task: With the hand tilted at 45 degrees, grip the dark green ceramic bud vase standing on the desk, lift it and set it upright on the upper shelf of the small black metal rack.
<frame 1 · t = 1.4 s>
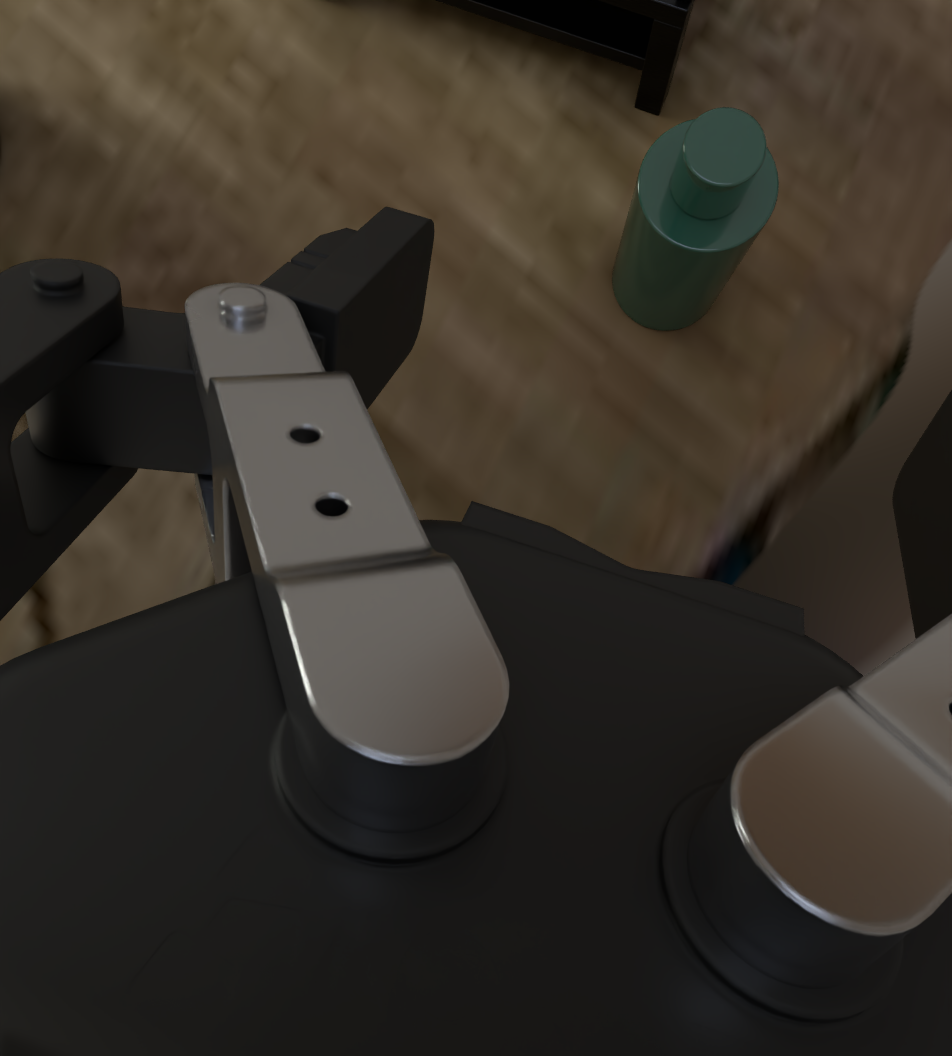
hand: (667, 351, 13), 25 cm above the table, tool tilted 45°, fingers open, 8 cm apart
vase: (665, 279, 38), on the table
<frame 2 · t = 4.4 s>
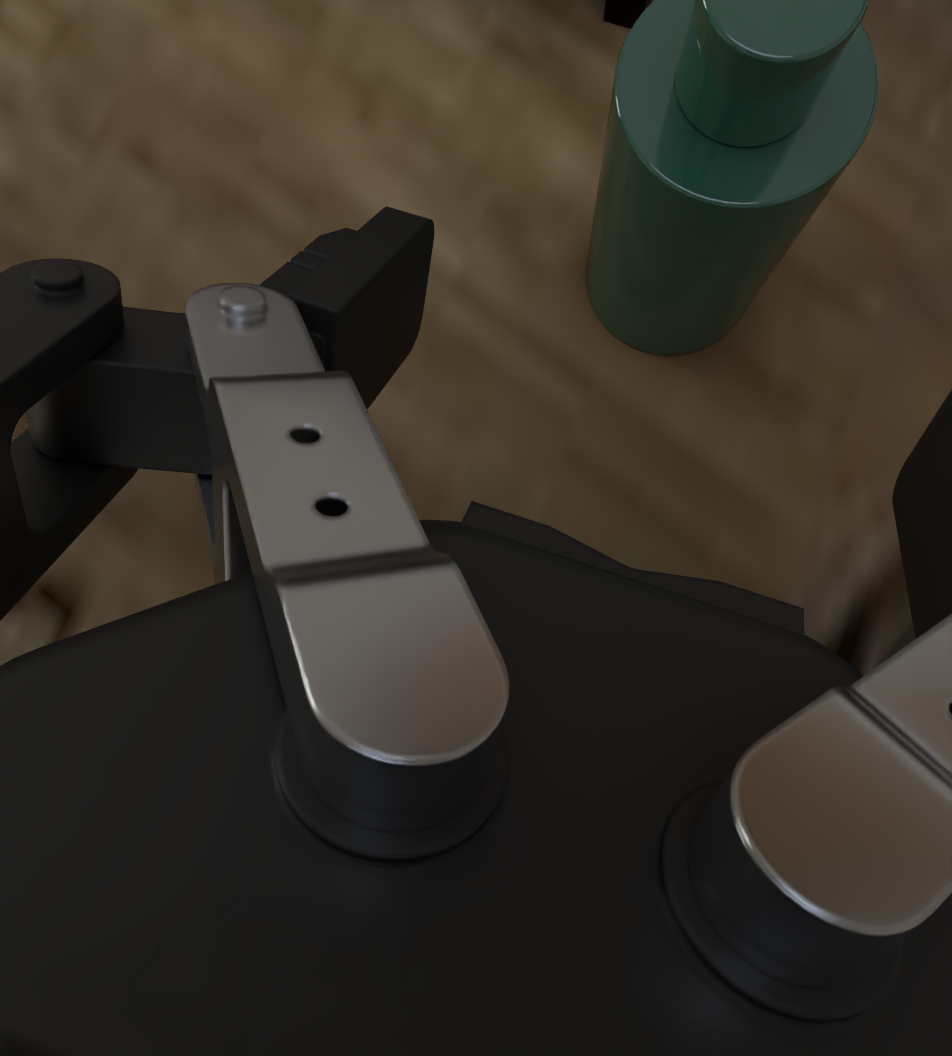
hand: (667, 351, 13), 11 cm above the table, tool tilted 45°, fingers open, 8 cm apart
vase: (668, 275, 24), on the table
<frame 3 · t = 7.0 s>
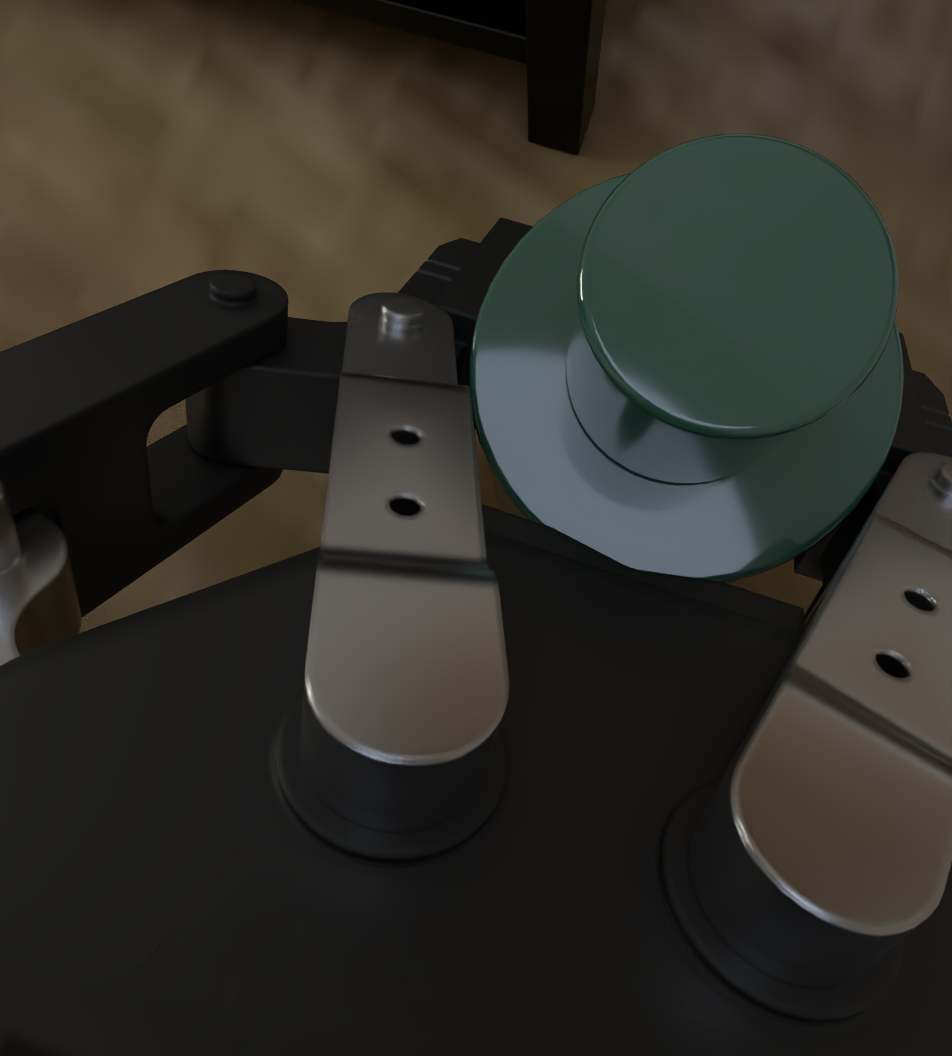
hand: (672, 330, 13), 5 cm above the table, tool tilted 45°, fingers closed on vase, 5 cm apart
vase: (610, 487, 18), on the table, touching gripper
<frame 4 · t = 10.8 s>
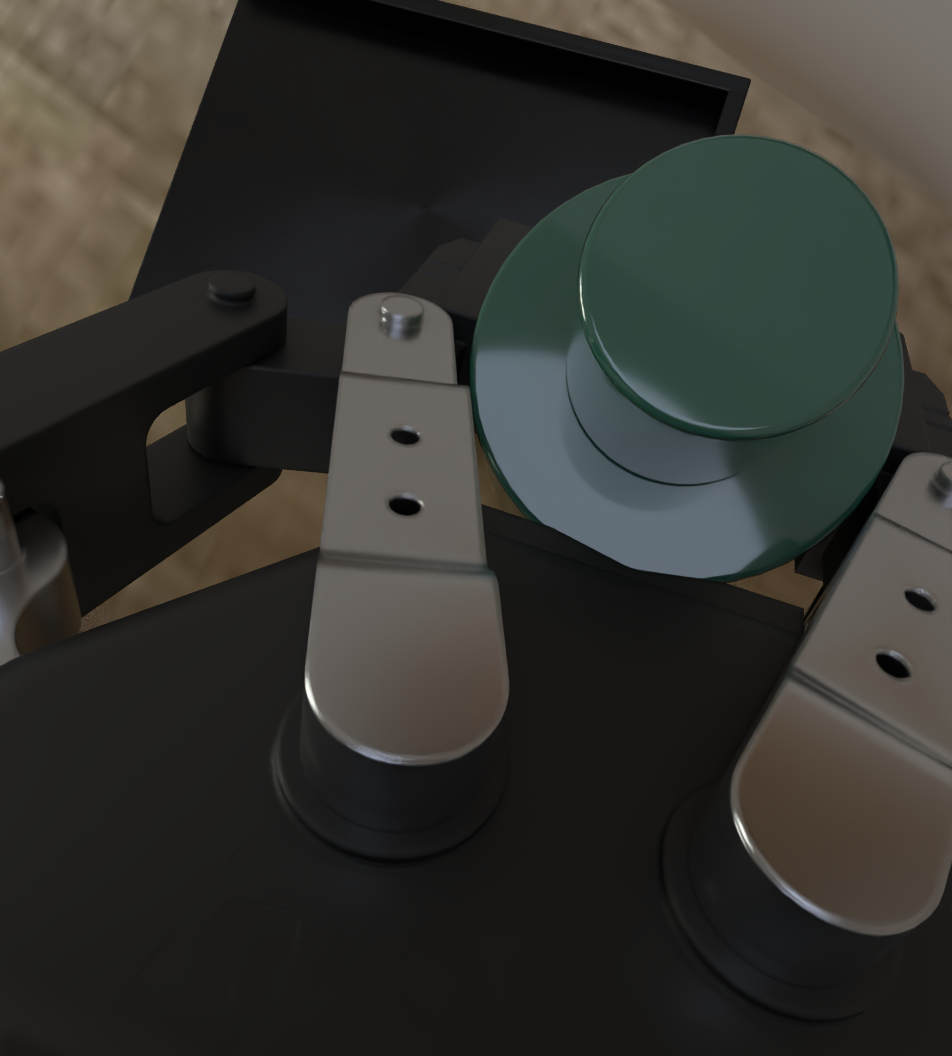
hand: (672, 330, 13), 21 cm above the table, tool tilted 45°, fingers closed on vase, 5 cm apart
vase: (610, 487, 18), point 16 cm above the table, touching gripper
rack: (449, 288, 35), on the table
when the fingers open (12 cm above the table, at t = 14.7 s): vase stays where it is, resting on rack.
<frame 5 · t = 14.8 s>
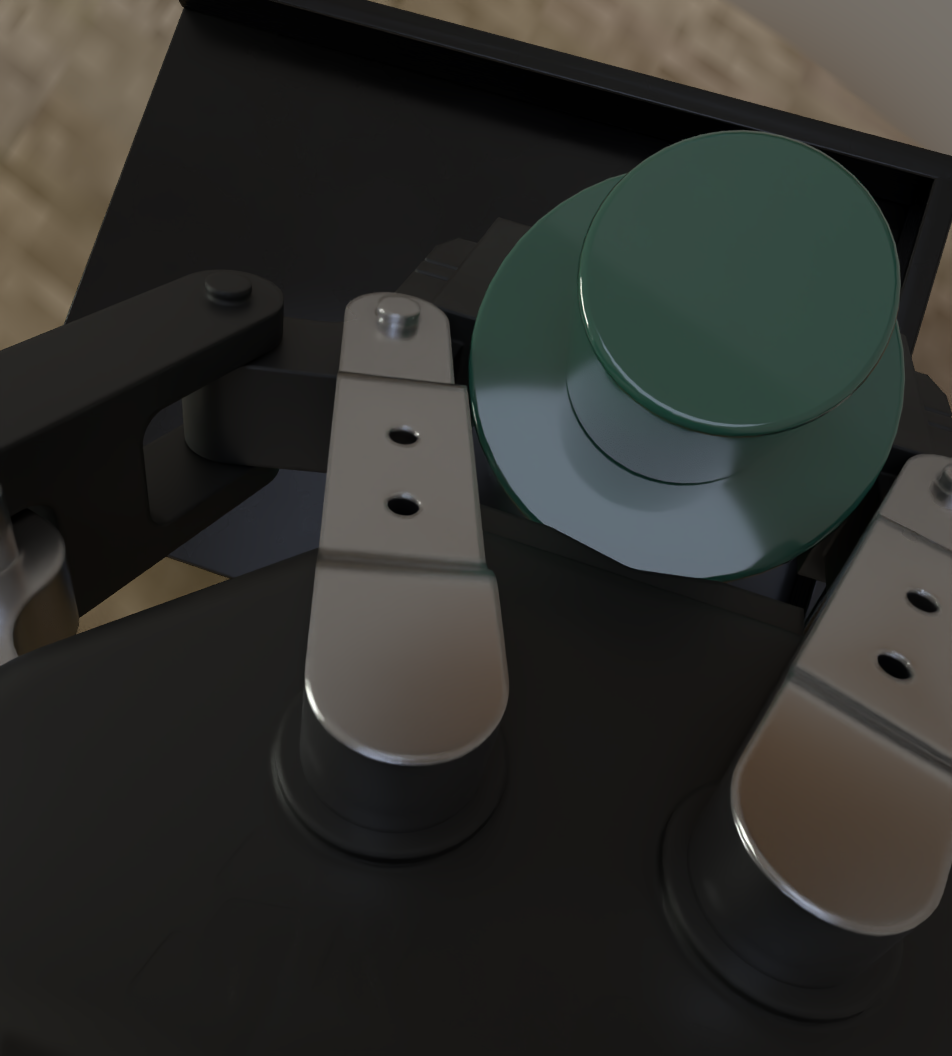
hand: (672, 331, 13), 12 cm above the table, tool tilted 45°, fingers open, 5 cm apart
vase: (609, 489, 18), point 7 cm above the table, touching rack
rack: (479, 418, 26), on the table
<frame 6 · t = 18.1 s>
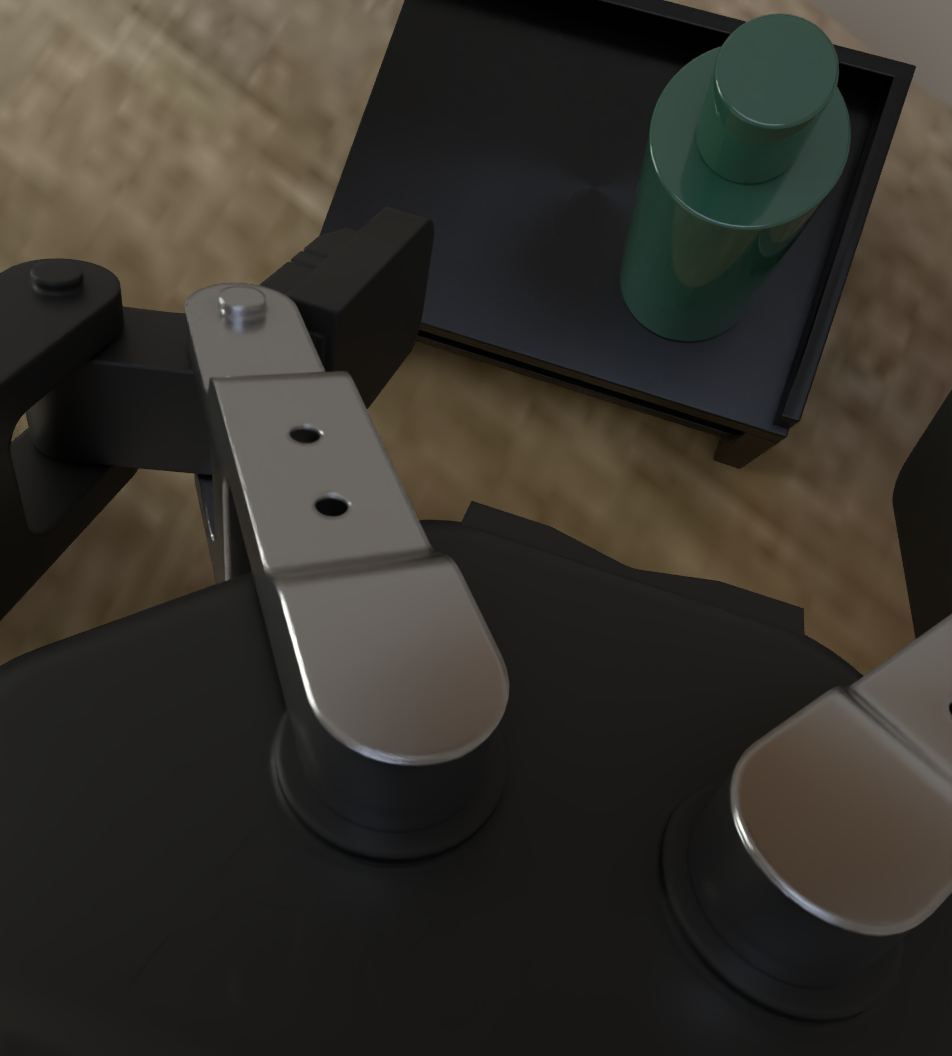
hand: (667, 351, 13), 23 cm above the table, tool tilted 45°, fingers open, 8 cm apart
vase: (688, 275, 29), point 7 cm above the table, touching rack
rack: (586, 265, 37), on the table
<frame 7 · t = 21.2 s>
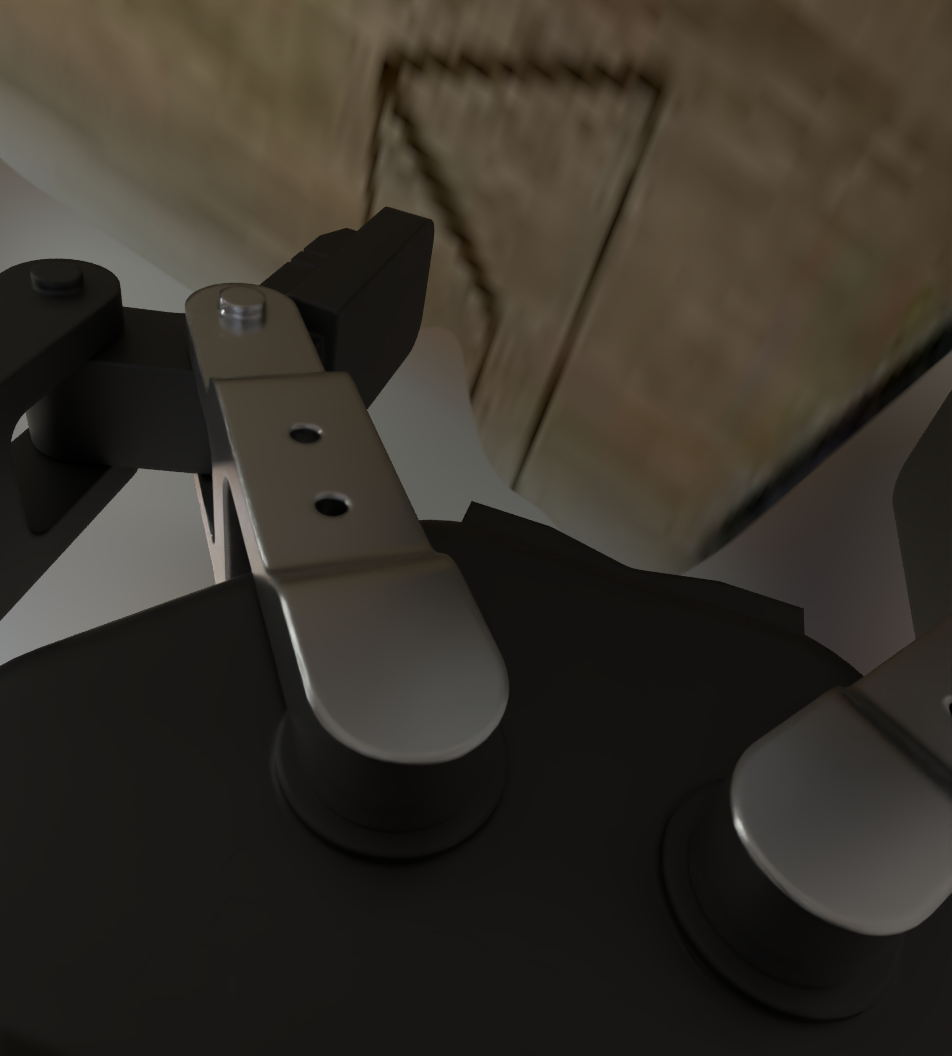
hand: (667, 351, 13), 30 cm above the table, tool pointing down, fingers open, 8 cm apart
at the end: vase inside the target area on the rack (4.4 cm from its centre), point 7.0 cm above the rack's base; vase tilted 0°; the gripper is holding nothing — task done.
